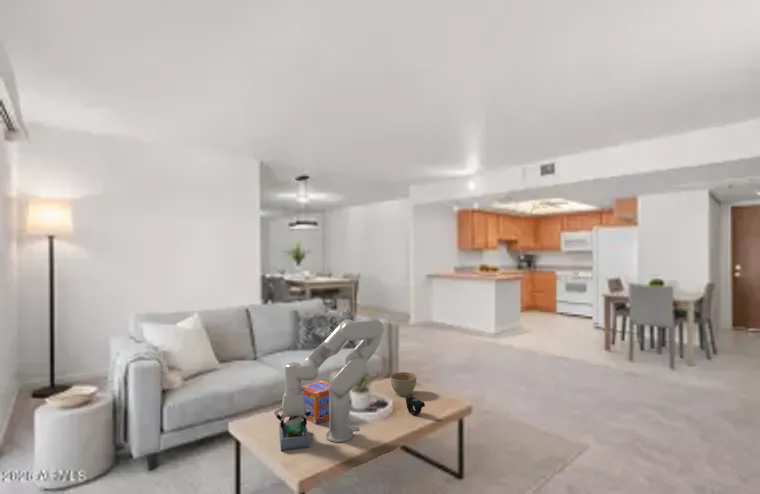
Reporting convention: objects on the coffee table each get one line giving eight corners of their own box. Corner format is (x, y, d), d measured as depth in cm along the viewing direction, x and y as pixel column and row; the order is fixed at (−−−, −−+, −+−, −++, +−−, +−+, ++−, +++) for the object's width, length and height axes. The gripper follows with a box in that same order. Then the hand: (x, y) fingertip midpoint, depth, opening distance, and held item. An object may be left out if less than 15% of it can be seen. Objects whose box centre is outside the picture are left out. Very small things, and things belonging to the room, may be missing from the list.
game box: (340, 415, 219) (340, 386, 219) (316, 424, 208) (315, 393, 208) (322, 408, 230) (322, 379, 230) (298, 416, 219) (298, 386, 219)
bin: (304, 430, 201) (304, 420, 201) (308, 447, 184) (308, 436, 184) (279, 433, 198) (279, 423, 198) (280, 451, 181) (280, 439, 181)
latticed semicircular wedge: (301, 442, 185) (299, 420, 186) (287, 443, 186) (286, 421, 186) (306, 430, 198) (305, 409, 198) (294, 431, 198) (292, 410, 198)
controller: (410, 410, 226) (410, 392, 226) (426, 417, 216) (426, 398, 216) (404, 412, 223) (404, 393, 223) (420, 419, 214) (420, 400, 214)
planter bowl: (384, 394, 251) (384, 376, 251) (400, 387, 263) (400, 370, 263) (406, 400, 240) (406, 382, 241) (422, 393, 253) (421, 375, 253)
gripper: (311, 386, 197) (311, 422, 197) (273, 389, 192) (274, 426, 192) (313, 391, 190) (313, 428, 190) (274, 395, 185) (274, 433, 185)
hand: (293, 427), depth 191 cm, fingers open, 9 cm apart
